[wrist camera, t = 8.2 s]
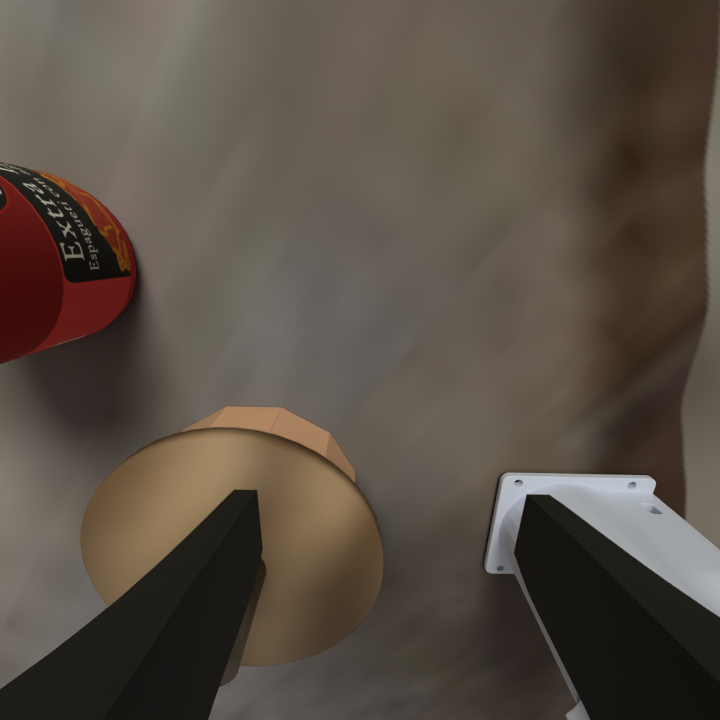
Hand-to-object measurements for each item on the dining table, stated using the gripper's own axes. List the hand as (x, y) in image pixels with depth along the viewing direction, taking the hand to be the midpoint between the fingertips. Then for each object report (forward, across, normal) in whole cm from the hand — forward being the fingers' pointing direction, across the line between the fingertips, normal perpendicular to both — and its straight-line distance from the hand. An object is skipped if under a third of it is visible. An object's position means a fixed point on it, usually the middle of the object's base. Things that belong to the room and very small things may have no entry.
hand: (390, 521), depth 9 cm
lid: (+6, +7, +8) cm, 13 cm away
